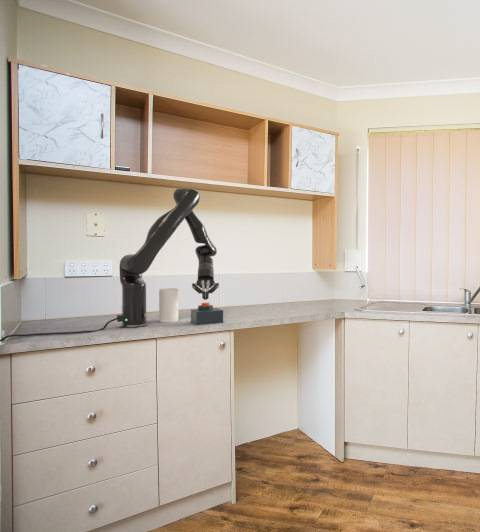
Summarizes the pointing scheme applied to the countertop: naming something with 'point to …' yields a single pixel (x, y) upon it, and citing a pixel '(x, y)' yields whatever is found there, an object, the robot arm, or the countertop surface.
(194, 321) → the grey button base
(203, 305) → the button
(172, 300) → the cup
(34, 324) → the countertop surface
